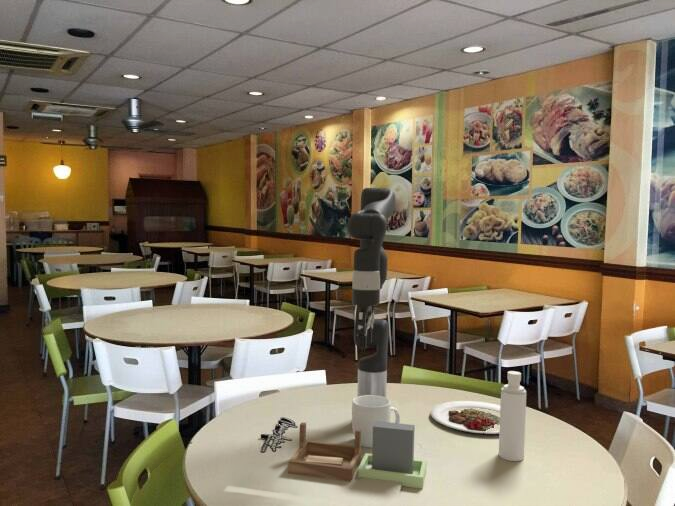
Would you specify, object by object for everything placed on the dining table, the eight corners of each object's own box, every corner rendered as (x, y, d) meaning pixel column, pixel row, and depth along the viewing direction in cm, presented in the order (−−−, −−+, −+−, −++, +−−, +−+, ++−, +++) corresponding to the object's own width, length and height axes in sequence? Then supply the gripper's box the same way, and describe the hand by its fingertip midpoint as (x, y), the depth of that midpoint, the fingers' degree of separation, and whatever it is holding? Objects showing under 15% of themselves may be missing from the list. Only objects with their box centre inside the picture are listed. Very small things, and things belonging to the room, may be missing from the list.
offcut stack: (306, 465, 144) (306, 453, 143) (344, 469, 141) (344, 458, 141) (301, 472, 139) (301, 460, 139) (340, 477, 137) (340, 465, 137)
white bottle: (505, 462, 150) (508, 370, 149) (494, 451, 157) (497, 364, 156) (528, 460, 151) (532, 369, 150) (516, 450, 158) (520, 363, 157)
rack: (304, 454, 152) (305, 418, 152) (362, 461, 149) (363, 424, 148) (288, 476, 139) (288, 437, 138) (351, 485, 135) (352, 444, 135)
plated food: (490, 403, 201) (490, 393, 201) (545, 433, 173) (546, 422, 173) (415, 410, 192) (415, 400, 192) (460, 443, 163) (461, 432, 163)
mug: (388, 434, 169) (389, 391, 168) (408, 447, 159) (409, 402, 158) (344, 441, 162) (345, 397, 161) (362, 456, 152) (363, 409, 152)
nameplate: (269, 416, 178) (300, 417, 178) (269, 421, 179) (300, 422, 178) (251, 451, 151) (288, 453, 151) (251, 457, 151) (288, 458, 151)
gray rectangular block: (374, 466, 144) (375, 421, 143) (413, 471, 142) (414, 425, 141) (371, 473, 140) (372, 426, 139) (411, 478, 138) (412, 430, 137)
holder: (365, 463, 148) (365, 453, 147) (426, 471, 144) (426, 460, 144) (357, 480, 138) (357, 469, 138) (422, 488, 134) (423, 477, 134)
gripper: (375, 290, 143) (373, 353, 144) (383, 285, 157) (382, 341, 158) (346, 289, 145) (345, 350, 146) (357, 283, 159) (356, 340, 160)
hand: (364, 346), depth 152 cm, fingers open, 8 cm apart
